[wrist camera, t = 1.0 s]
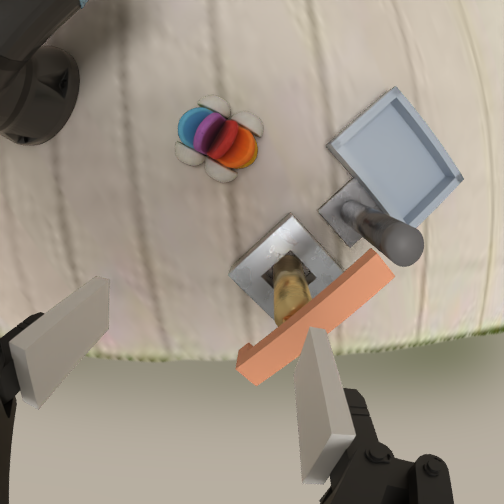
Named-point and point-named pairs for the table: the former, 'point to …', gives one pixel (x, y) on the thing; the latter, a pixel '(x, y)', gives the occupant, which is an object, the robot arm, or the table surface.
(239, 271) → the hitch block
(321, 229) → the table surface
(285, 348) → the swing bar
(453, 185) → the tray
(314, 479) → the robot arm
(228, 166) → the rainbow disc toy
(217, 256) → the table surface
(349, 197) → the gate post
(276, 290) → the pin
